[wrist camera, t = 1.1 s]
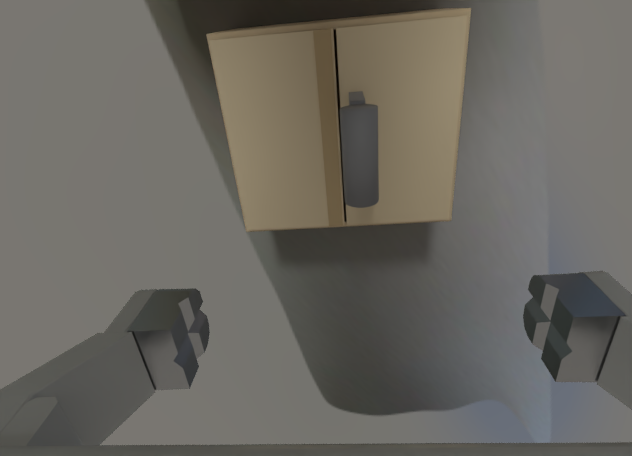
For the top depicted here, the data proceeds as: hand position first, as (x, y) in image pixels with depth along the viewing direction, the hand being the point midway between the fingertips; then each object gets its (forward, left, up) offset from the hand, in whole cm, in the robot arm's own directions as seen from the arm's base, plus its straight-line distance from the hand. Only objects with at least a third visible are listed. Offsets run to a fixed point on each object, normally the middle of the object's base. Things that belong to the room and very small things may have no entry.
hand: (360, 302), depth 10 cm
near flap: (+2, +4, -22) cm, 23 cm away
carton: (+2, 0, -30) cm, 30 cm away
